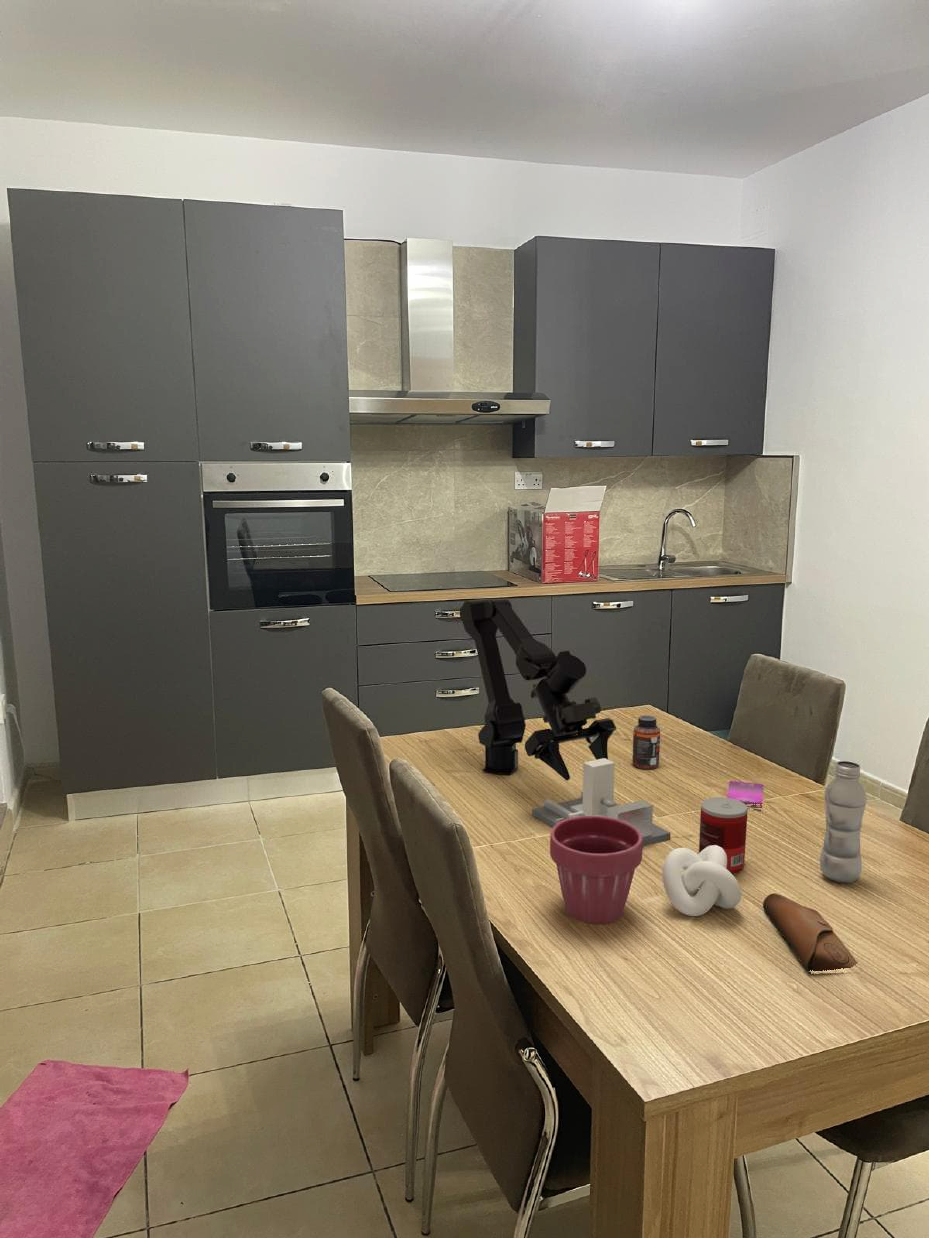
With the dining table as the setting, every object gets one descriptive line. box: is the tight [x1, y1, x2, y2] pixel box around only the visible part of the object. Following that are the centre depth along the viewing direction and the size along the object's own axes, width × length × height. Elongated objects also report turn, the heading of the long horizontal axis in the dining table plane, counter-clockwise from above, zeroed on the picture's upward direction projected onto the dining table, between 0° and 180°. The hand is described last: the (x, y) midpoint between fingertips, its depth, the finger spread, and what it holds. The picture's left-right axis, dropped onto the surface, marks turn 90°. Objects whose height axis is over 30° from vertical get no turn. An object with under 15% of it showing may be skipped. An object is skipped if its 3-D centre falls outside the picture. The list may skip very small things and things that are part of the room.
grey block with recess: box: [607, 799, 654, 839], centre depth 167 cm, size 3×8×6 cm, turn 119°
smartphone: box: [726, 780, 765, 812], centre depth 190 cm, size 7×15×1 cm, turn 161°
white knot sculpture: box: [662, 845, 742, 917], centre depth 144 cm, size 11×12×9 cm
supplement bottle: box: [632, 715, 661, 770], centre depth 207 cm, size 6×6×11 cm
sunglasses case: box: [762, 893, 858, 972], centre depth 135 cm, size 18×7×7 cm
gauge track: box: [531, 791, 671, 847], centre depth 175 cm, size 22×16×2 cm
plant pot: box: [549, 816, 644, 925], centre depth 142 cm, size 14×14×13 cm
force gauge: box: [568, 758, 616, 817], centre depth 173 cm, size 8×10×11 cm
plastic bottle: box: [819, 760, 868, 884], centre depth 152 cm, size 6×7×20 cm
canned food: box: [698, 796, 748, 875], centre depth 158 cm, size 8×8×11 cm
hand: (588, 775), depth 177 cm, fingers open, 9 cm apart
